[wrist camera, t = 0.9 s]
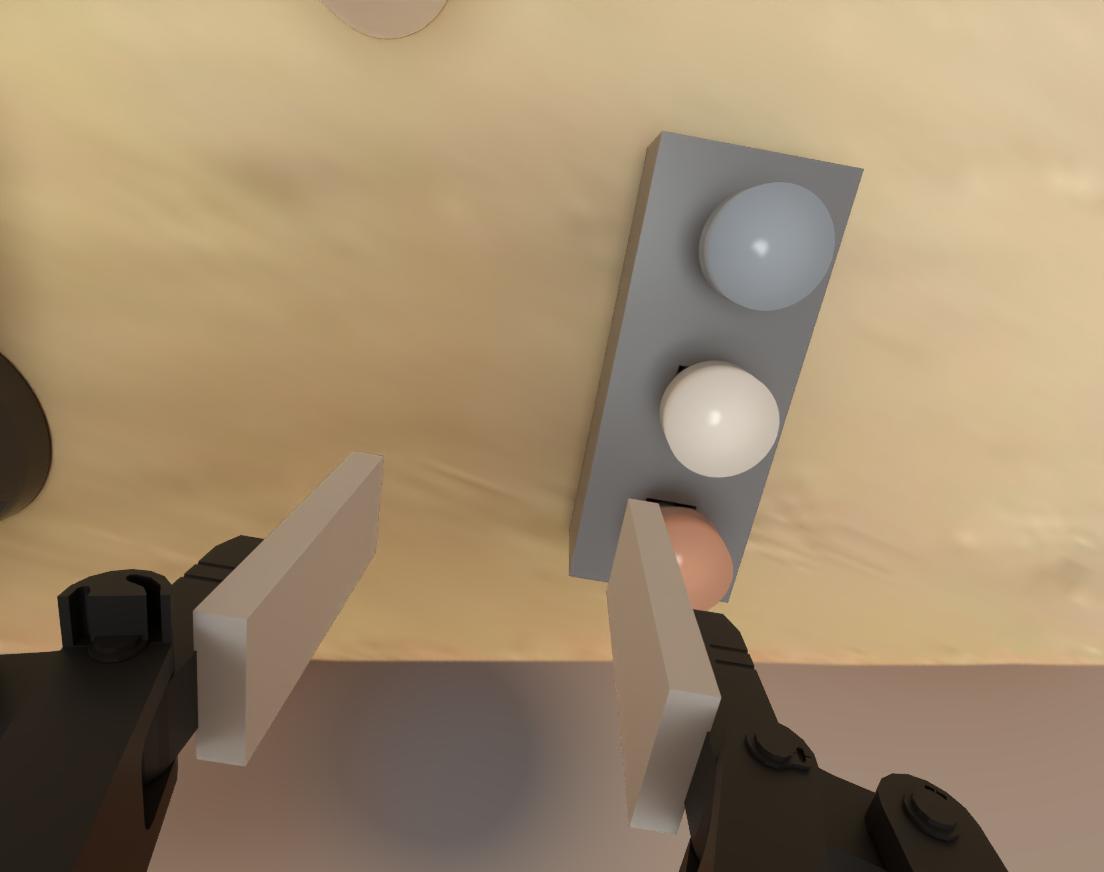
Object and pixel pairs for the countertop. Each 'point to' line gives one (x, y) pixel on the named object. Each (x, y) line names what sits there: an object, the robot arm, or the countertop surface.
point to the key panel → (689, 343)
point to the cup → (385, 15)
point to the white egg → (718, 418)
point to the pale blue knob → (767, 246)
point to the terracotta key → (698, 554)
